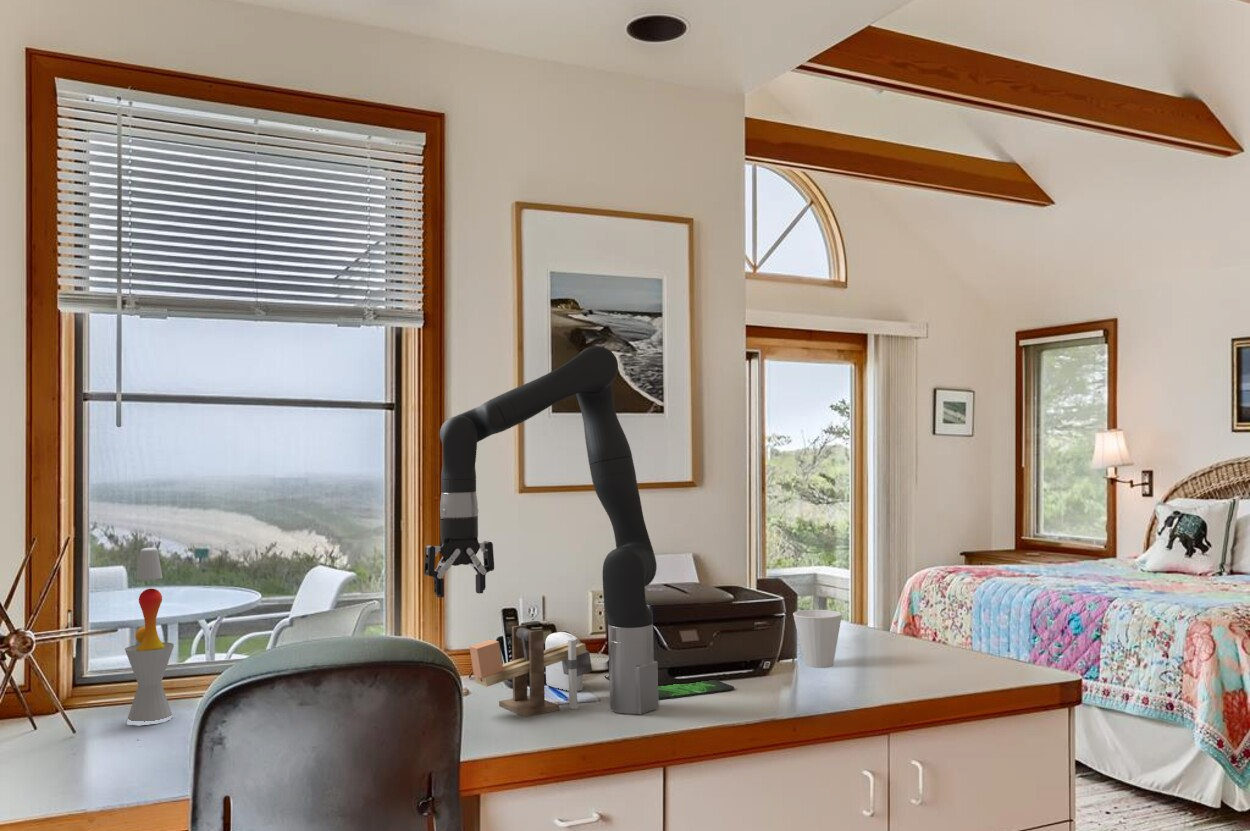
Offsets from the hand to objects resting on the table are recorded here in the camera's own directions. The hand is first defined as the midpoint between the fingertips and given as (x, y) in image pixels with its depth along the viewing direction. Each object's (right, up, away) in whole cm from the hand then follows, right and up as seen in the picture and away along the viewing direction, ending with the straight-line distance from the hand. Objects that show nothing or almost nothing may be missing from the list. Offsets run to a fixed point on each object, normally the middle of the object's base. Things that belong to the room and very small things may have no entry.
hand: (460, 595), depth 199 cm
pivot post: (+13, -24, +6) cm, 28 cm away
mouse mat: (+43, -25, +25) cm, 56 cm away
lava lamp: (-64, -26, +2) cm, 69 cm away
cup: (+80, -25, +41) cm, 93 cm away
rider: (+6, -16, +1) cm, 17 cm away
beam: (+15, -20, +7) cm, 26 cm away
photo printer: (+20, -25, +22) cm, 39 cm away
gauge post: (+23, -24, +5) cm, 33 cm away
